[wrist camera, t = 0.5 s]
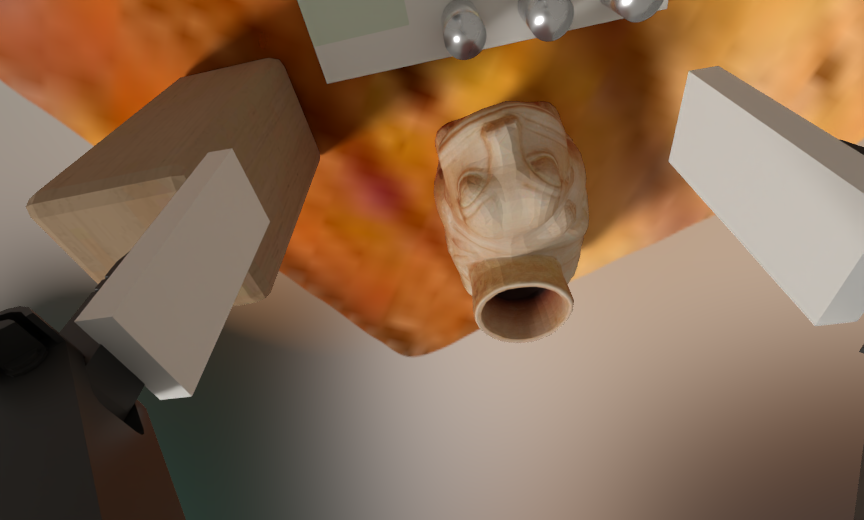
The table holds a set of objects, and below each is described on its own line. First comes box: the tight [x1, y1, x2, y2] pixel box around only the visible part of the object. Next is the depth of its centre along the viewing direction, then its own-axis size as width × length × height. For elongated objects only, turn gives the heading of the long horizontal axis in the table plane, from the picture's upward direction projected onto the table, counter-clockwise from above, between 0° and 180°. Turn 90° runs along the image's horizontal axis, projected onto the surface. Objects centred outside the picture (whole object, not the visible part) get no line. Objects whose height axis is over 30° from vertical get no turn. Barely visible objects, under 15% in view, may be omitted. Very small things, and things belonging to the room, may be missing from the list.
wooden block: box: [26, 58, 320, 306], centre depth 32 cm, size 10×10×20 cm
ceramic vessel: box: [434, 101, 589, 343], centre depth 39 cm, size 14×26×15 cm, turn 14°
